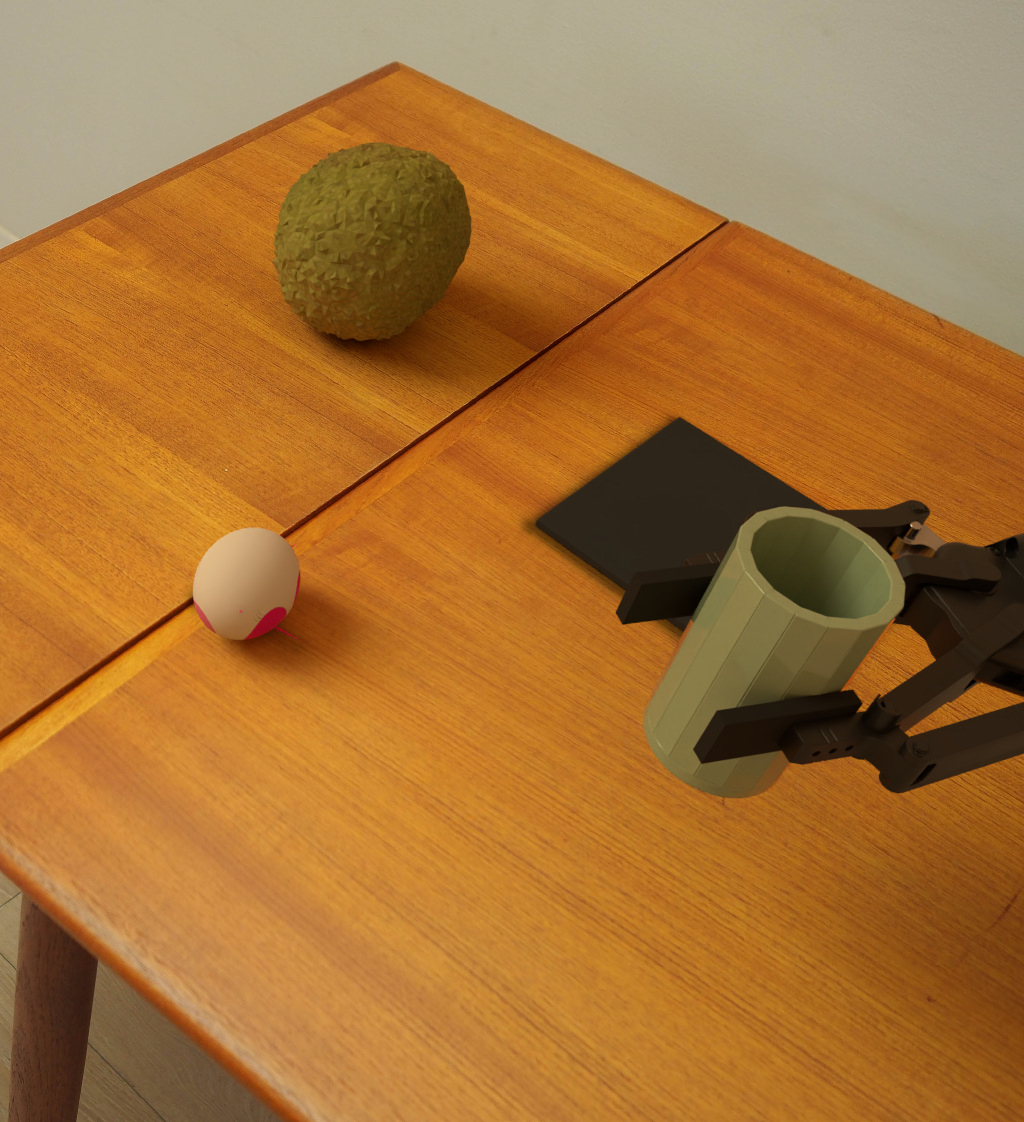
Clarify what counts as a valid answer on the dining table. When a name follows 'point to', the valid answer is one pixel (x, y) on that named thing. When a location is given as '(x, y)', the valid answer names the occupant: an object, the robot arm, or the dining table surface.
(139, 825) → the dining table surface
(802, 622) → the cup
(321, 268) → the fruit
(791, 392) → the dining table surface
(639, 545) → the mat
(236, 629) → the stress ball
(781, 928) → the dining table surface
